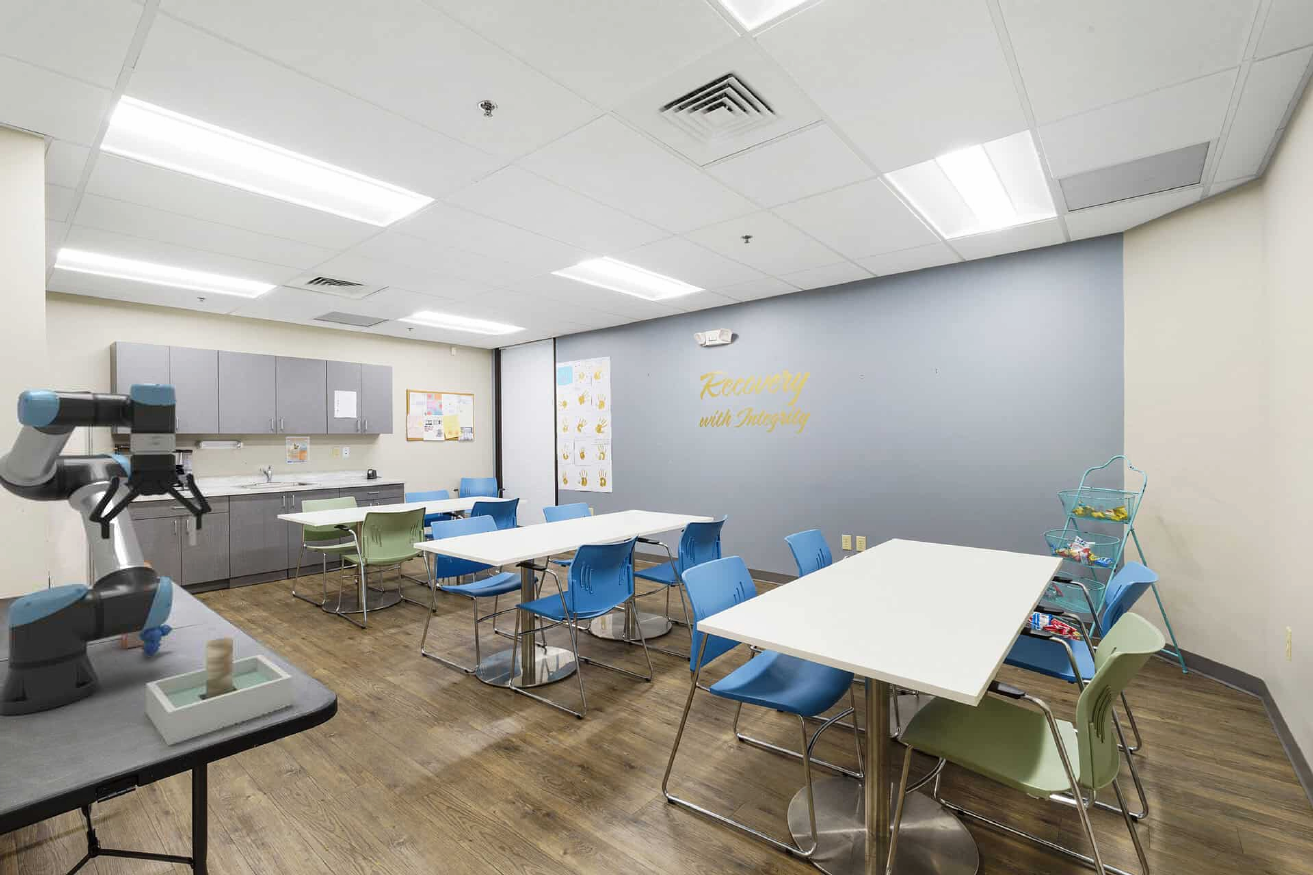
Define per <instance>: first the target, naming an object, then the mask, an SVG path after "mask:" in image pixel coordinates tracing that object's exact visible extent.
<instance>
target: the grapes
mask: <svg viewBox="0 0 1313 875" xmlns="http://www.w3.org/2000/svg"><path fill="white" fill-rule="evenodd" d="M172 631H173V628H172V627H171V626H170V625H168V624H162V625H160V626H157V627H153V628H149V629H146V630H144V631H142V632H141V633H140V634H139V635H138V636H139V637H141V638H140V639H142V640H143V641H144V643H145V644H144V645H143V646H141V648H140V649H141V650H142V653H143V654H145V655H146V656H148V657H152V656H155V655H156V654H157V653H158V651H159V650H160V647H161V645H162V643H161V641H162V638H163V637H166V636H169V634H170V633H171V632H172Z"/></svg>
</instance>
